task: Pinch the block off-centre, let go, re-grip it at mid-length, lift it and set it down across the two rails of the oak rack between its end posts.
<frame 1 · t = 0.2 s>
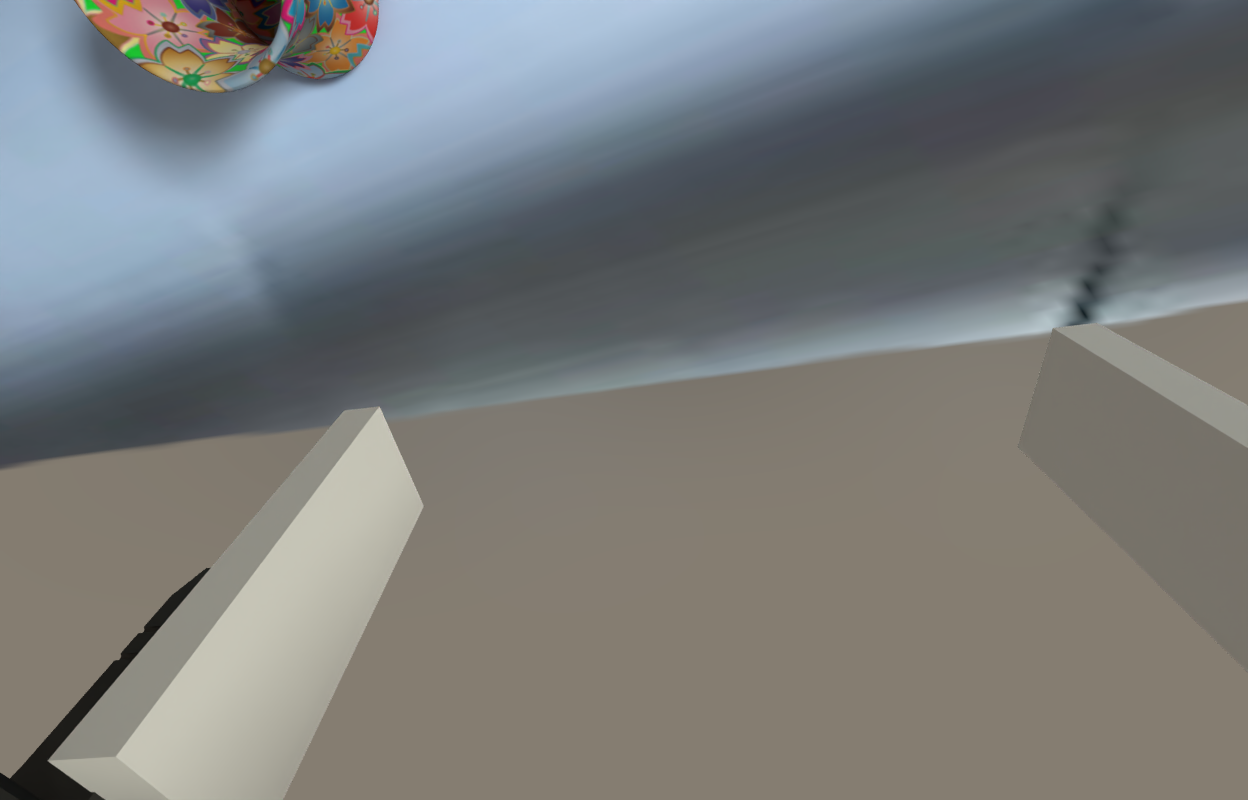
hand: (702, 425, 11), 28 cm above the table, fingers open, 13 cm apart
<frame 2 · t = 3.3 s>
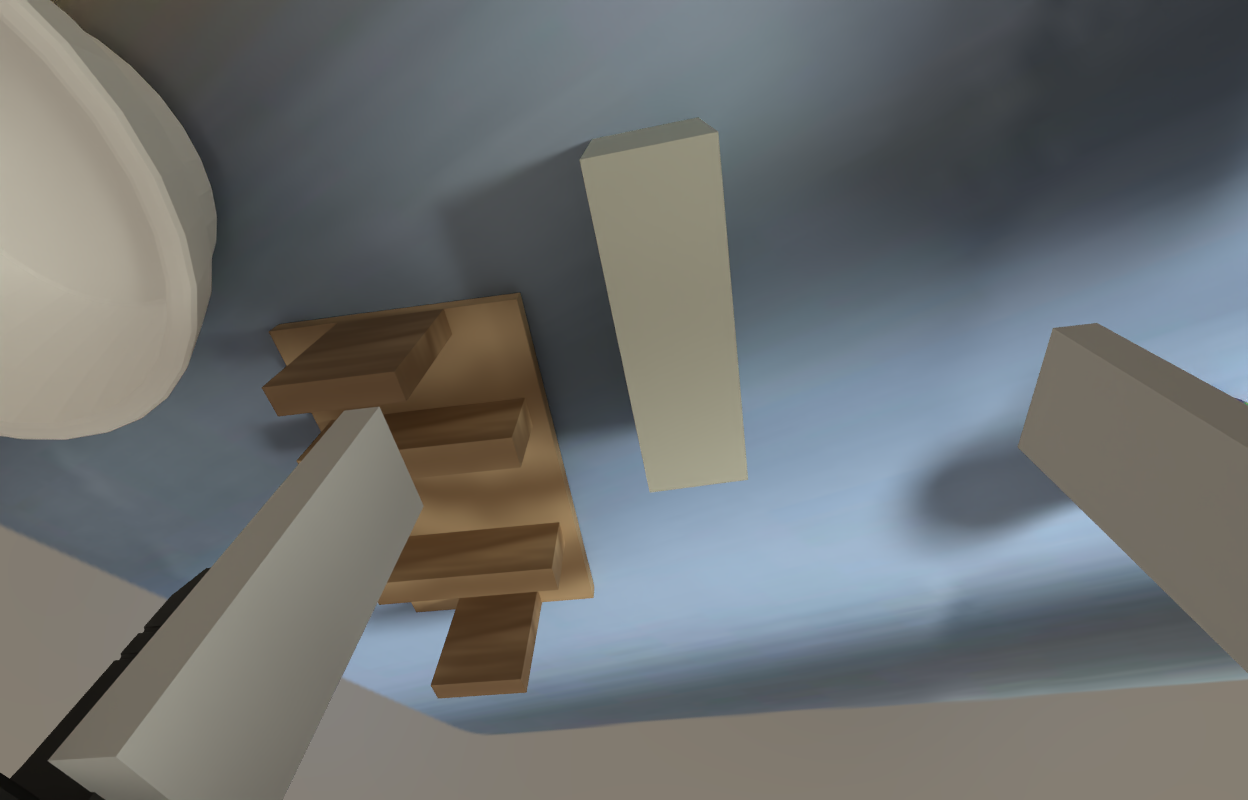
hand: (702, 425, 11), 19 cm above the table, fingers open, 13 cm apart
block: (668, 289, 29), on the table
rack: (461, 476, 36), on the table
bowl: (82, 169, 27), on the table
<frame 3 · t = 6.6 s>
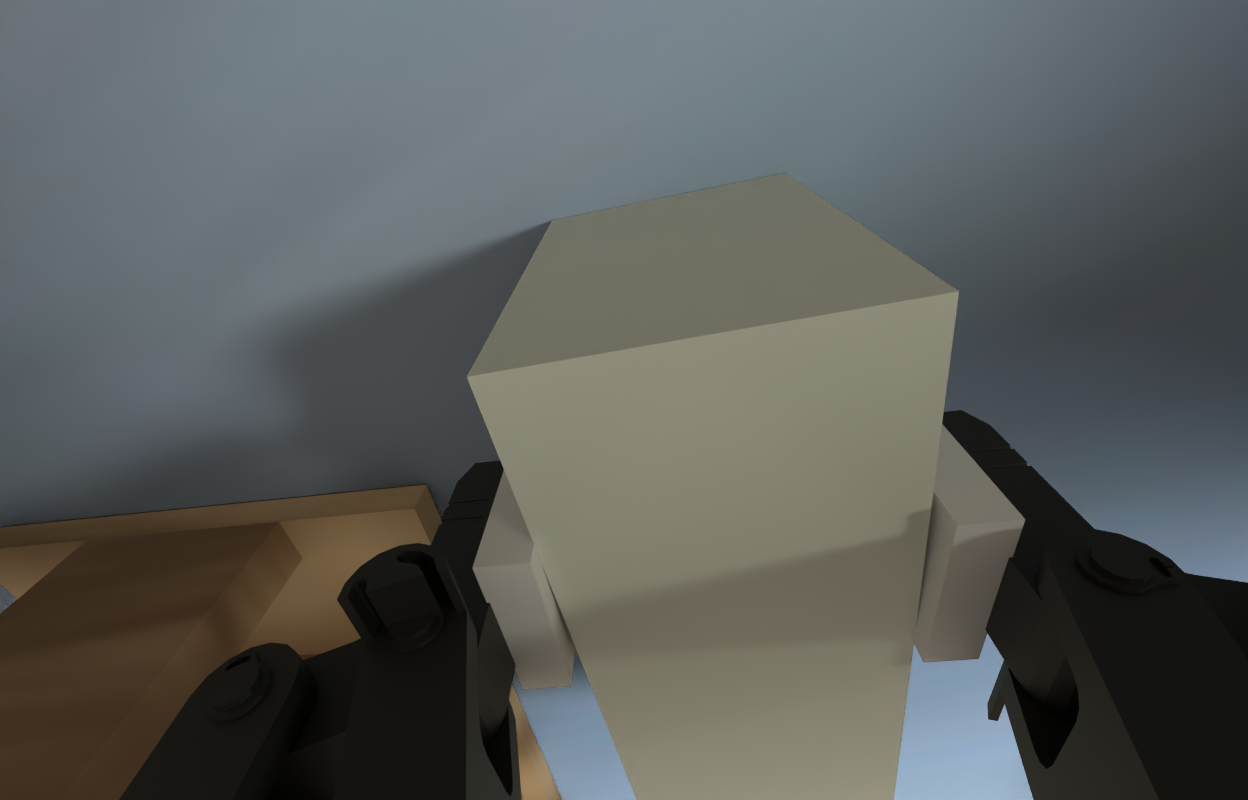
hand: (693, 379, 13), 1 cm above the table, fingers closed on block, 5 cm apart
block: (709, 483, 16), on the table, touching gripper
rack: (360, 720, 22), on the table
when the fingers open (1 cm above the table, at t = 7.3 s): block stays where it is, on the table.
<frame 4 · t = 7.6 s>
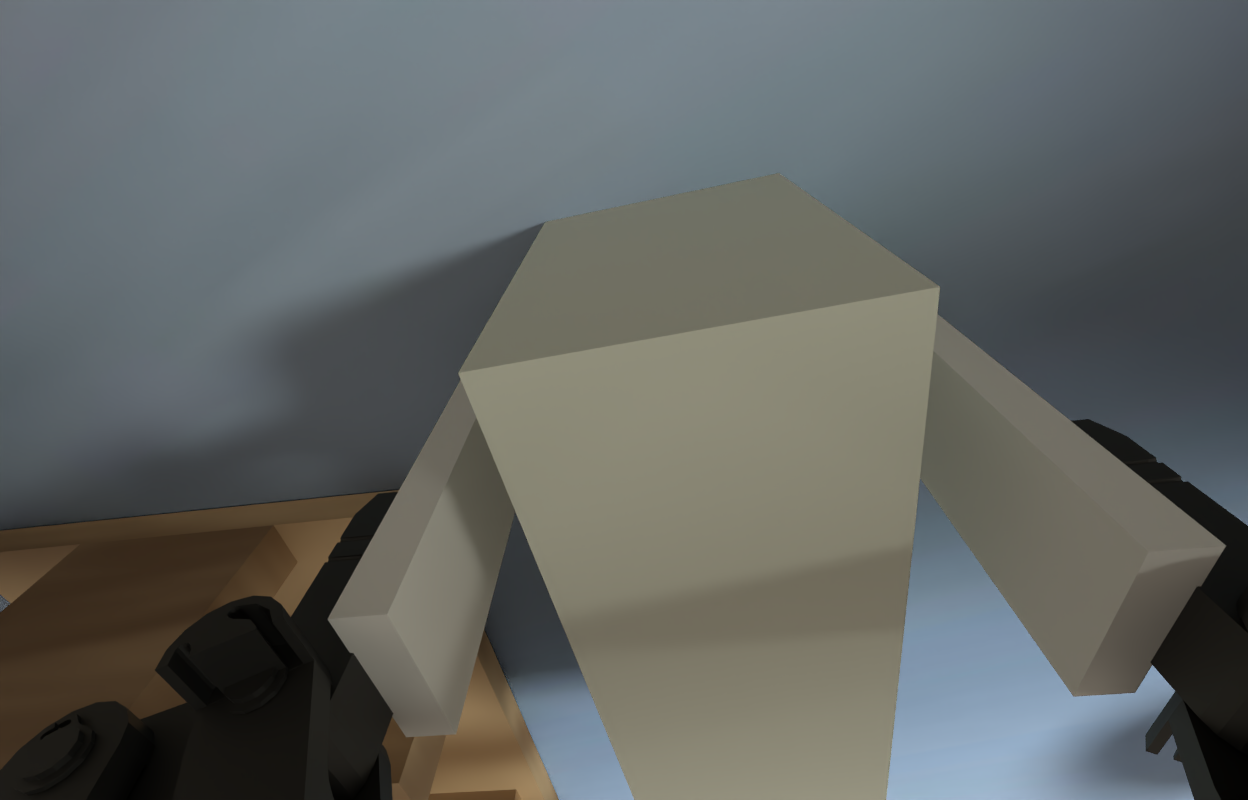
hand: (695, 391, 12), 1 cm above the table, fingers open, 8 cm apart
block: (704, 480, 16), on the table
rack: (356, 723, 22), on the table
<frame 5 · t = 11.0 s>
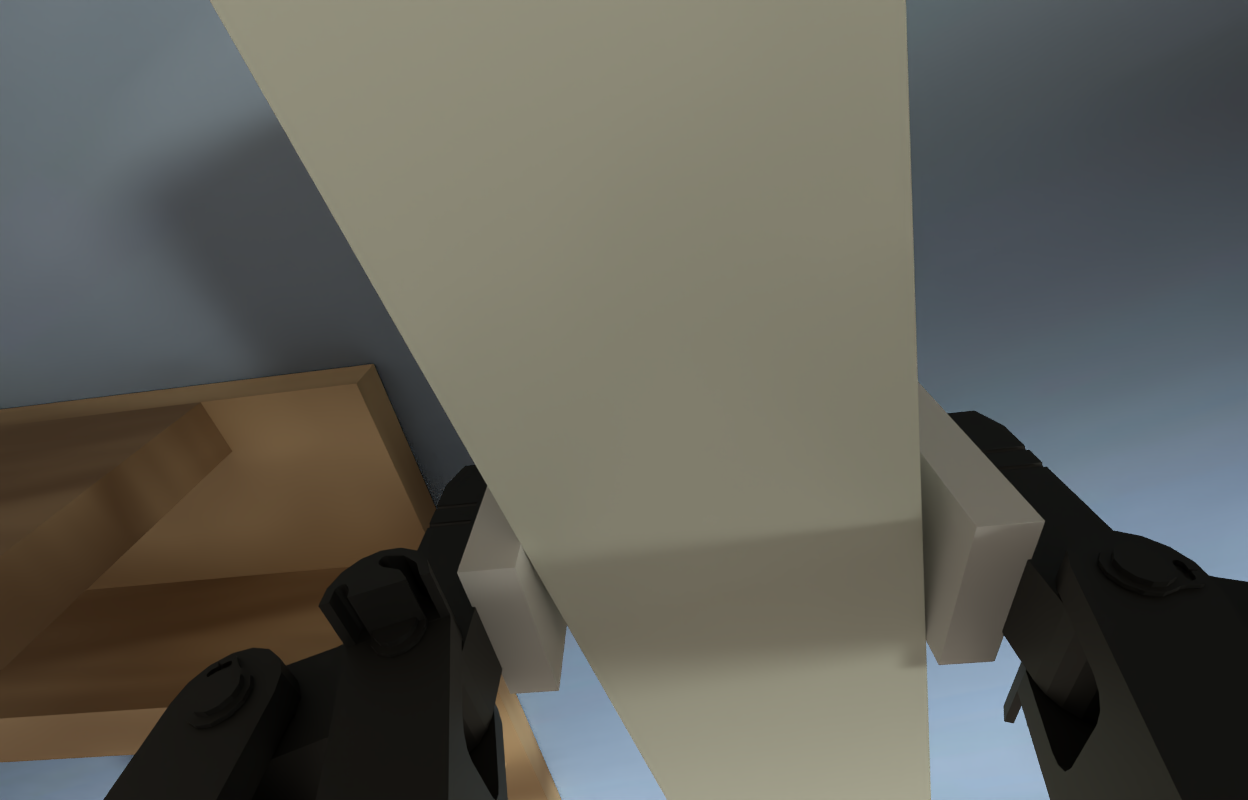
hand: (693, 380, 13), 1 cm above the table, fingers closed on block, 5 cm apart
block: (690, 362, 13), on the table, touching gripper
rack: (318, 663, 20), on the table
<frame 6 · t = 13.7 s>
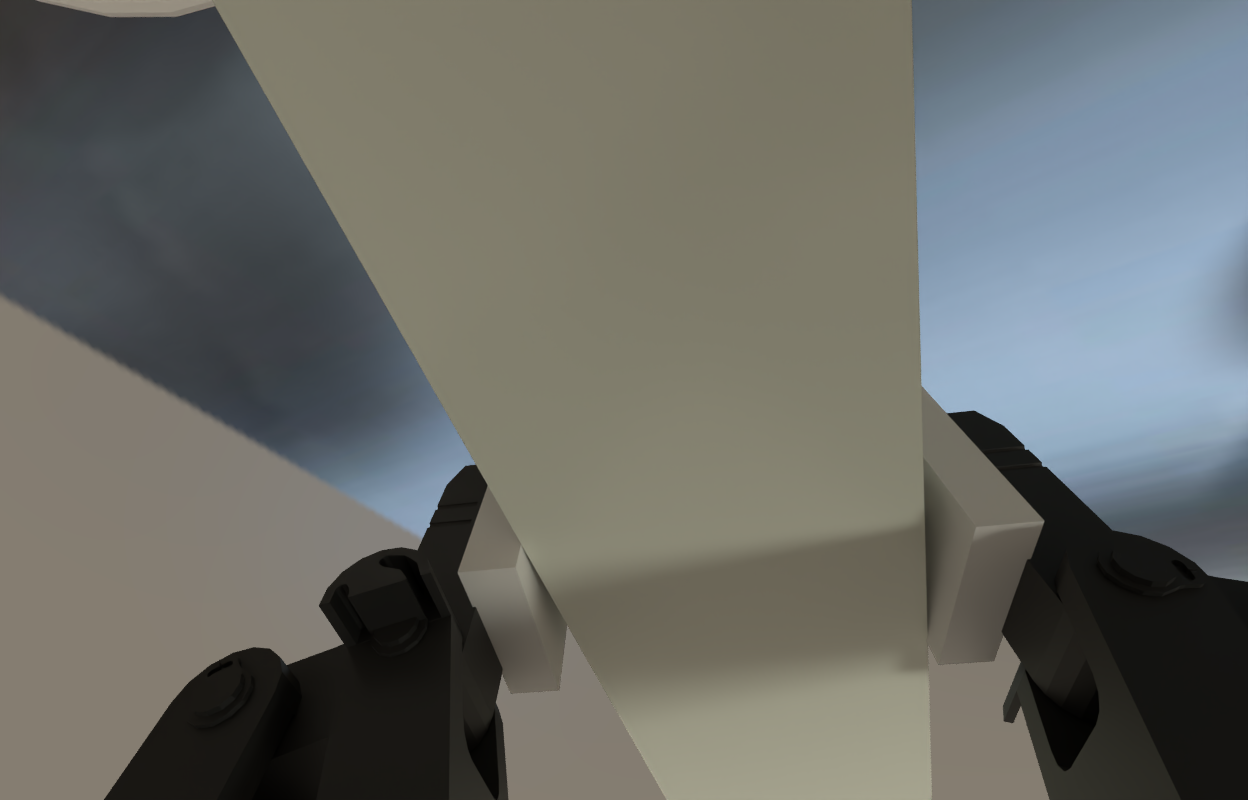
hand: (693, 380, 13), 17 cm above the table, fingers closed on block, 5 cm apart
block: (691, 361, 13), point 16 cm above the table, touching gripper
when the fingers open (7 cm above the table, at t = 16.2 s): block stays where it is, resting on rack.
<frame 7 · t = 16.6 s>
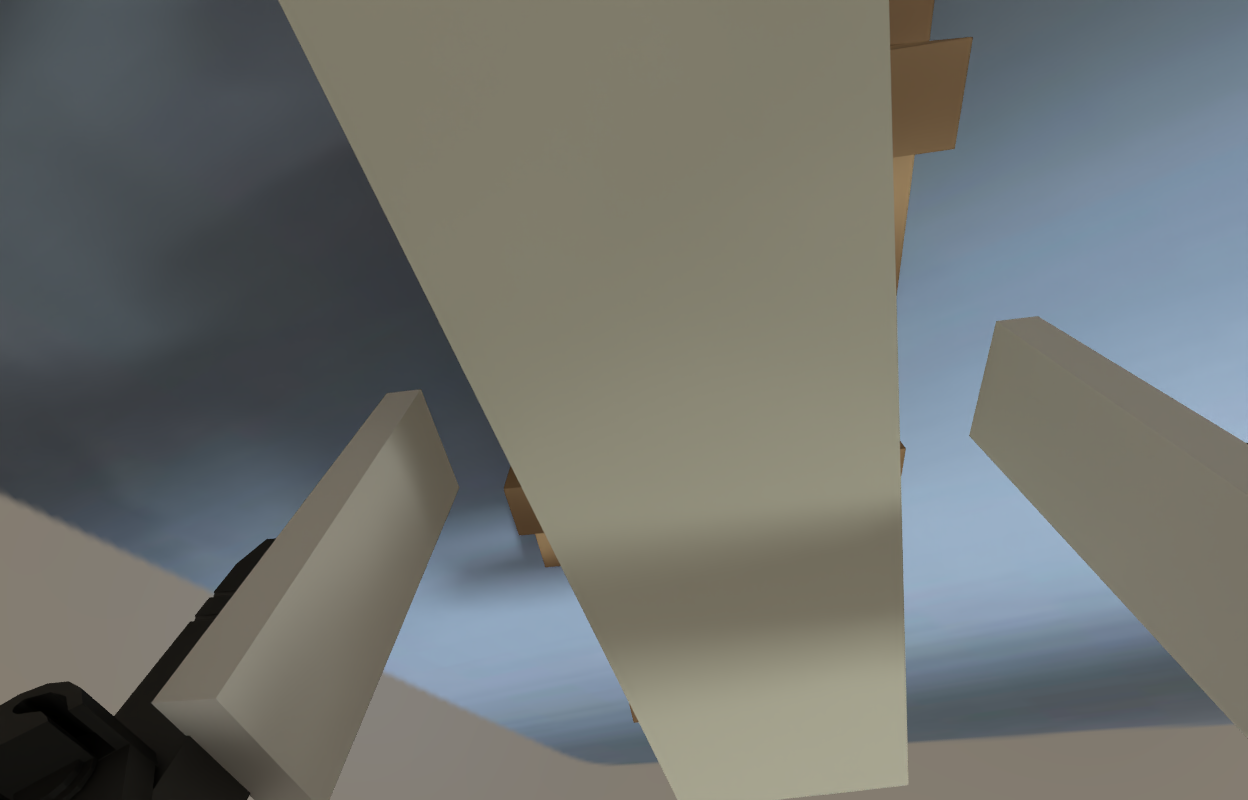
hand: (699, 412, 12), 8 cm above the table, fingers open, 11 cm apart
block: (687, 349, 14), point 5 cm above the table, touching rack
rack: (675, 284, 18), on the table
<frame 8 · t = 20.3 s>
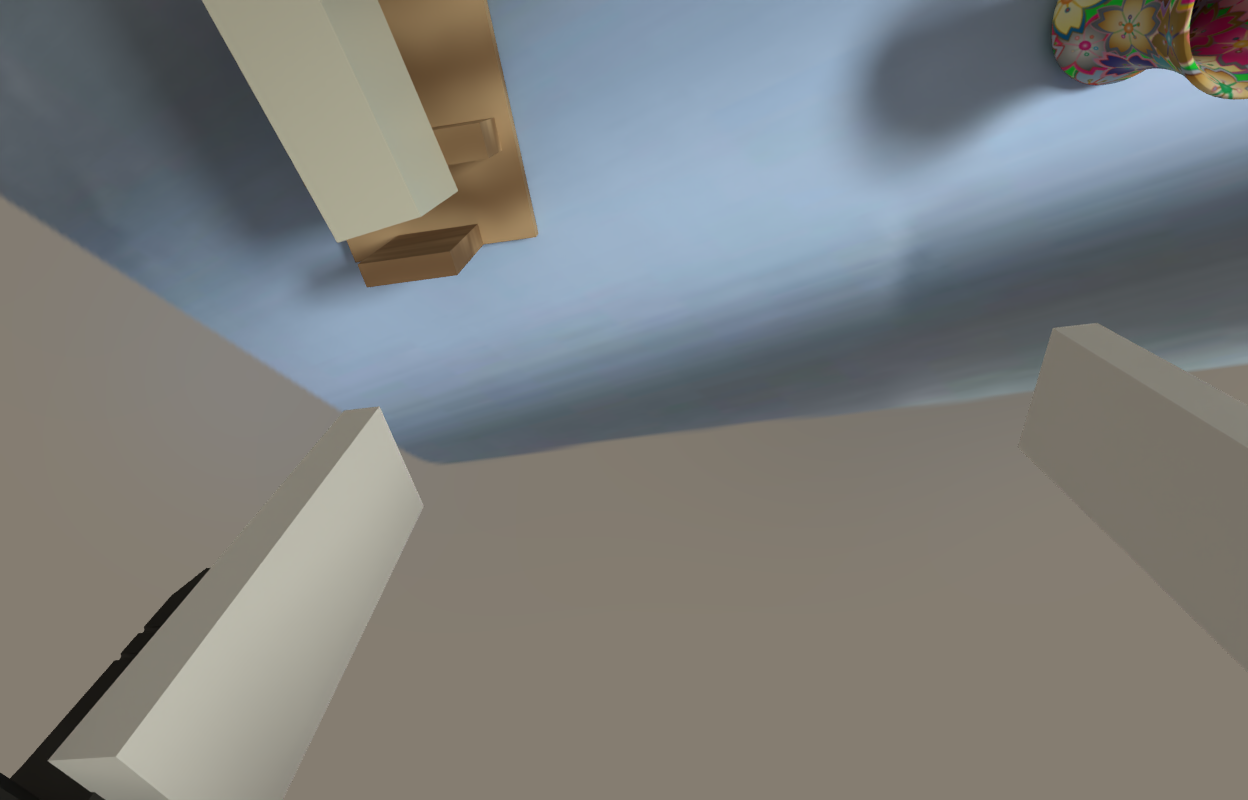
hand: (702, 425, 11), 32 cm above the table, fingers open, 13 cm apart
block: (357, 60, 31), point 5 cm above the table, touching rack
rack: (391, 61, 35), on the table
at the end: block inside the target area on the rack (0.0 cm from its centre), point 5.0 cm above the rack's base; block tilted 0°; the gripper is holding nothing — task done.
